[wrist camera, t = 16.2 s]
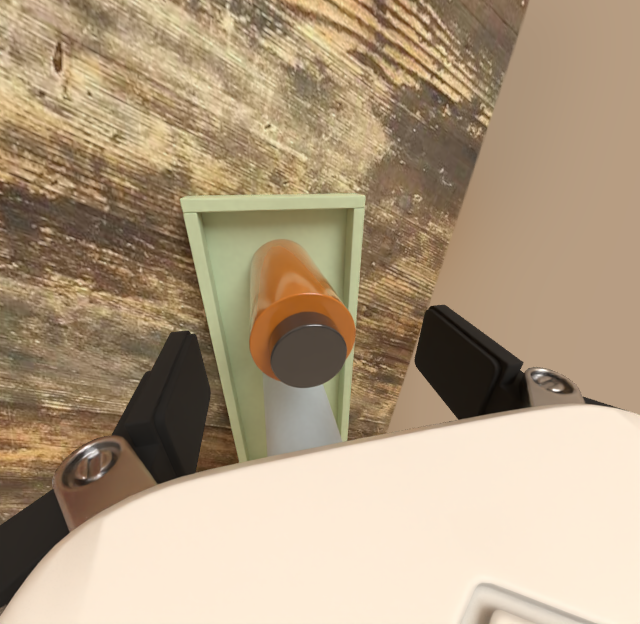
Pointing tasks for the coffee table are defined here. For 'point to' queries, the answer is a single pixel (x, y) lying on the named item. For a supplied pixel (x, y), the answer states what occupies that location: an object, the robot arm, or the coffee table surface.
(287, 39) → the coffee table surface
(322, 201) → the tray
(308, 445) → the blue bottle
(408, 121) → the coffee table surface
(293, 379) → the amber bottle
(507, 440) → the robot arm
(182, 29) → the coffee table surface
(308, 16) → the coffee table surface
